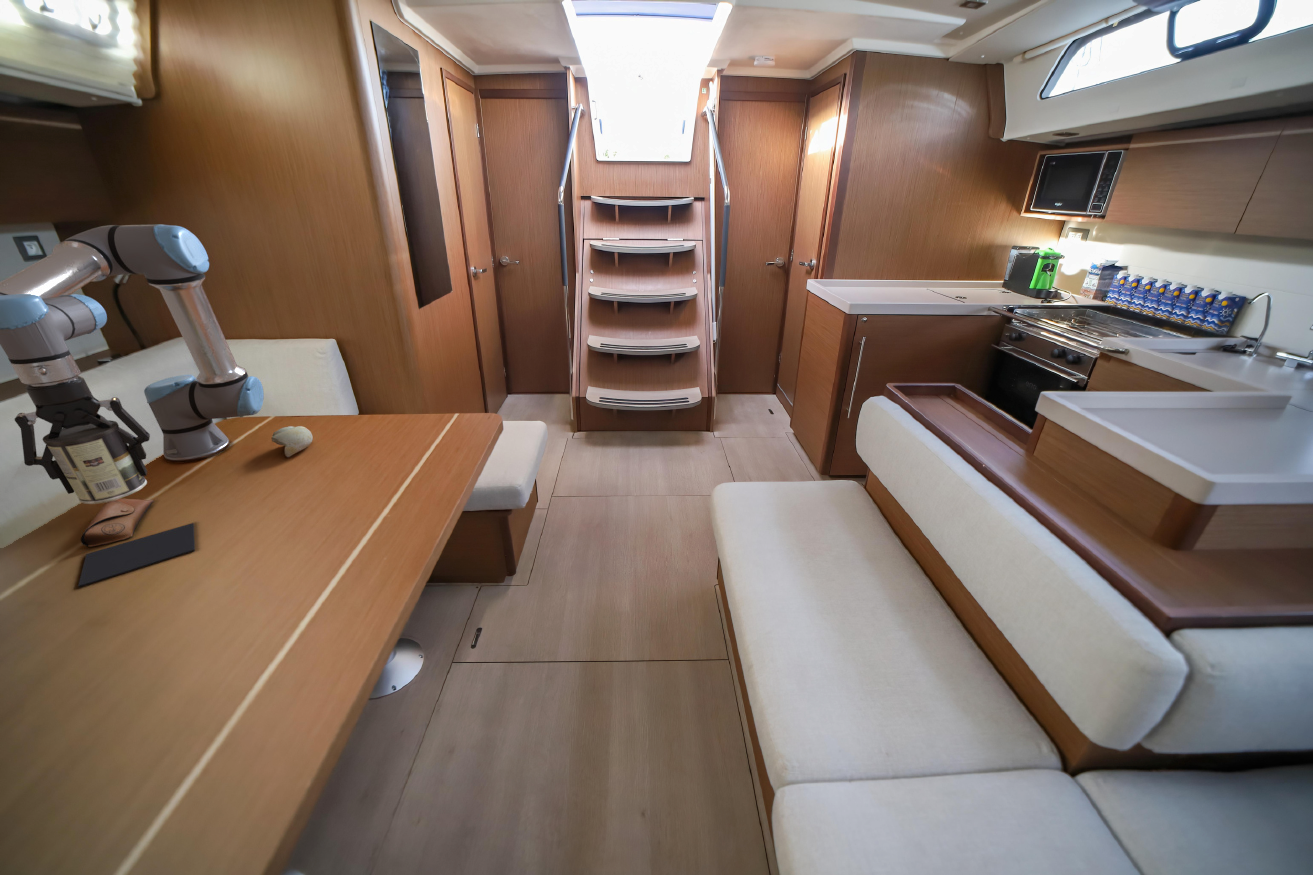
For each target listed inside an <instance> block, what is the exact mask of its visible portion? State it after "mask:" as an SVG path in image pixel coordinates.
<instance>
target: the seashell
mask: <svg viewBox="0 0 1313 875" xmlns="http://www.w3.org/2000/svg"><path fill="white" fill-rule="evenodd" d="M313 440H314V437H313V434H312V431H311V430H309V429H308V428H307V427H305V426H302V425H300V426H292V425H289V426H285V427H281V428H279V429H278V430H275V431H273V433H272V434H271V441H272V442H273V443H274V444H276V445H279V446H283V447H284V455H285V456H286V457H287V458H290V457H292V456H293V455H295V454H297V453H299V452H301V451H303V450H304V449H306V448H307V447H309V446H311V444H312V443H313Z"/></svg>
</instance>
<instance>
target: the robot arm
mask: <svg viewBox="0 0 1313 875" xmlns="http://www.w3.org/2000/svg"><path fill="white" fill-rule="evenodd" d="M207 253H208V252H207V251H206V249H205V247H204V245H203V243H202V242H201V241H200V239H199V238H198V237H197V236H196V235H195V234H194V233H193V232H191V231H190V230H189V229H187V228H185V227H183V226H180V225H172V224H171V225H169V224H163V223H162V224H125V225H122V224H121V225H118V224H109V225H102V226H98V227H93V228H90V229H87V230H85V231H82V232H79V233H77V234H74V235H72V236H70V237H67V238H66V239H63V240H62V241H60V242H58V243H56V244H55V245H54V247H53V248H52V253H51V254H49V255H47V256H44V257H43V258H42V259H40V260H38V261H36V262H35V263H33V264H30V265H29V266H27V267H25V268H24V269H21V270H20V271H18V272H16V273H14V274H13V275H10V276H8V277H6V278H5V279H4V280H2V281H0V347H1V348H2V350H3V352H4V354H5V355H6V357H7V359H8V361H9V363H10V365H11V367H12V369H13V370H14V372H15V374H16V376H17V377H18V379H19V381H20V382H21V383H22V384H24V385H26V386H25V391H26V393H27V395H28V397H30V399H31V401H32V403H33V405H34V406H35V411H31V412H27V413H25V412H19V413H18V414H17V415H16V416H15V418H14V422H15V424H17V426H18V427H19V429H20V434H21V443H22V444H21V445H22V453H23V463H24V465H25V466H27V467H31V466H41V467H43V469H44V470H45V472H46V473H47V475H48V477H49V478H50V479H51V480H58V479H59V481H60V483H61V485H62V486H63V487H64V489H65V491H66V492H67V495H71V494H75V492H74V490H73V488H72V486H71V485H70V483H69V481H68V480H67V478H66V476H65V475H64V473H63V471H62V470H61V468H60V466H59V465H58V463H57V461H56V460H55V459H53V458H54V456H53V455H52V453H51V451H50V450H49V448H48V446H47V444H45V446H44V449H43V453H42V456H40V455H39V456H38V454H37V443H36V436H35V426H34V425H35V424H36V423H37V419H40V420H43V421H45V422H47V423H49V424H51V427H50V430H49V433H50V434H49V433H48V434H49V437H48V439H53V438H58V437H59V435H60V433H61V430H62V428H66V429H68V428H72V427H75V426H84V425H89V423H91V424H93V425H95V426H97V427H100V428H101V429H105V428H110V427H111V426H112V422H110V421H108V420H109V419H107V418H106V417H105V416H103V415H101V414H100V413H99V411H100V409H101V408H102V407H103V408H105V409H106V410H107V411H109V412H113V414H114V415H115V416H116V417H117V418H118V419H119V420H120V421H121V422H122V423H123V424H124V425H125V426H126V427H127V428H128V429H129V430H131V432H132V433H133V434H135V435H133V434H132V433H130V432H129V431H127V430H125V429H123V428H122V427H120V426H119V430H117V431H118V433H119V435H120V437H121V439H122V441H124V442H126V443H127V445H128V451H129V453H130V455H131V457H132V459H133V461H134V462H135V464H136V466H137V468H138V470H139V472H140V474H141V476H144V477H146V476H147V475H148V469H147V468H146V466H145V464H144V461H143V460H146V459H147V452H146V450H145V449H144V446H143V445H142V444H143V443H147V442H149V441H150V438H151V434H150V433H149V432H148V431H147V430H146V429H145V428H144V427H143V425H141V424H140V423H139V422H138V421H137V420H136V419H135V418H134V417H133V416H132V414H130V413H129V412H128V411H127V410H126V409H125V408H124V406H123V405H122V402H121V400H120V399H119V398H118V397H115V396H113V397H112V398H110V399H103V400H99V399H97V398H96V397H95V396H94V395H93V393H92V391H91V389H90V388H89V385H88V384H87V382H86V380H85V378H84V377H83V376H80V375H81V373H82V372H81V370H80V368H79V366H78V364H77V362H76V361H75V358H74V357H73V355H72V353H71V351H70V349H69V348H68V346H67V344H66V342H67V341H70V340H72V339H75V338H78V337H81V336H85V335H90V334H92V333H94V332H96V331H99V330H100V329H101V328H103V327H104V326H105V325H106V323H107V321H108V317H107V316H108V315H107V311H106V309H105V308H104V307H103V306H102V305H101V303H100V302H98V301H97V300H95V299H94V298H92V297H90V296H87V295H84V294H78V293H77V294H75V292H77V291H79V290H80V289H81V288H83V287H84V286H86V285H88V284H89V283H90V282H93V283H94V282H100V281H103V280H105V279H106V278H108V277H112V276H124V275H125V276H126V275H144V278H145V279H146V281H147V283H148V285H149V286H152V287H154V288H156V289H158V290H159V291H160V293H161V296H162V297H163V300H164V302H165V304H166V305H167V308H168V310H169V312H170V314H171V316H172V318H173V320H174V322H175V325H176V326H177V328H178V330H179V332H180V334H181V336H182V339H183V340H184V343H185V345H186V347H187V349H188V351H189V353H190V356H191V357H192V359H193V361H194V364H195V365H196V368H197V370H198V371H199V374H197V376H196V377H195V376H194V375H193V374H181V375H175V376H171V377H167V378H163V379H161V380H157V381H155V382H152V383H150V384H148V385H147V386H146V387H145V388H144V389H143V390H144V391H143V393H144V396H145V399H146V403H147V404H148V406H149V408H150V410H151V412H152V415H153V416H154V418H155V420H156V422H157V424H158V426H159V428H160V430H161V433H162V439H163V441H162V443H163V444H162V445H163V446H162V448H163V449H162V450H163V456H164V458H165V461H167V462H169V463H173V464H174V463H176V464H182V463H183V464H185V463H191V462H196V461H201V460H204V459H208V458H211V457H213V456H217V455H219V454H221V453H223V452H225V451H226V450H227V449H228V448H229V447H230V446H231V442H230V439H229V438H228V436H227V435H226V434H225V433H224V432H223V431H222V430H221V428H219V427H218V426H217V425H216V424H215V423H214V420H215V419H216V420H217V419H228V418H243V417H248V416H249V417H250V416H255V415H257V414H258V413H259V412H261V409H262V407H263V404H264V399H265V396H264V395H265V393H264V387H263V383H262V381H261V380H260V378H258V377H257V376H253V375H251V376H249V374H248V371H247V370H246V368H244V367H242V366H240V365H238V364H237V362H236V360H235V358H234V355H233V353H232V350H231V349H230V347H229V344H228V341H227V340H226V337H225V335H224V333H223V330H222V328H221V326H220V324H219V321H218V318H217V317H216V315H215V313H214V310H213V307H212V305H211V303H210V300H209V299H208V298H209V297H207V294H206V291H205V289H204V287H203V282H204V281H205V280H206V278H207V277H206V274H205V273H206V272H207V271H209V268H210V261H209V256H208V254H207Z"/></svg>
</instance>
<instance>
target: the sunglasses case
mask: <svg viewBox="0 0 1313 875" xmlns="http://www.w3.org/2000/svg"><path fill="white" fill-rule="evenodd" d="M153 503H154V499H135V498H134V499H133V498H120V499H117V500H113V501H109V502H105V504H104V505H103V507H101V508H100V510H99V511H98V513H97V514H96V515H95V516H94V518H93V519H92V520H91V522H90V523H89V524H88V526H87V527H86V529H85V530H84V532H83V533H82V534H81V536H80V542H81V544H82V545H83V546H85V547H88V548H93V547H98V546H99V547H100V546H104V545H108V544H113V543H117V542H120V541H124V540H126V539H129V538H132V537H133V536H134V533H135V530H136V528H137V526H138V525H139V523H140V522H141V520H142V518H143V517H144V516H145V515H146V513H147V511H148V510H149V508H150V507H151V506H152V504H153Z"/></svg>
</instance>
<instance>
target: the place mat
mask: <svg viewBox="0 0 1313 875" xmlns="http://www.w3.org/2000/svg"><path fill="white" fill-rule="evenodd" d="M194 524H195V523H194V522H192V523H189V524H184V525H182V526H178V527H174V528H171V529H168V530H164V531H161V532H157V533H154V534H151V535H147V536H143V537H140V538H137V539H134V540H133V539H132V540H130V541H127V542H122V543H119V544H116V545H113V546H110V547H105V548H102V549H99V550H96V551H92V552H88V553H86V555H85V558H84V562H83V565H82V569H81V573H80V578H79V580H78V585H77V587H78V588H83V587H85V586H89V585H92V584H95V583H97V582H101V581H105V580H107V579H110V578H114V577H116V576H120V575H123V574H126V573H130V572H132V571H135V570H139V569H142V568H144V567H148V566H152V565H154V564H158V563H160V562H164V561H167V560H170V559H174V558H177V557H179V556H183V555H186V554H189V553H192V552H195V551H196V547H195V546H196V544H195V525H194Z"/></svg>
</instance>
